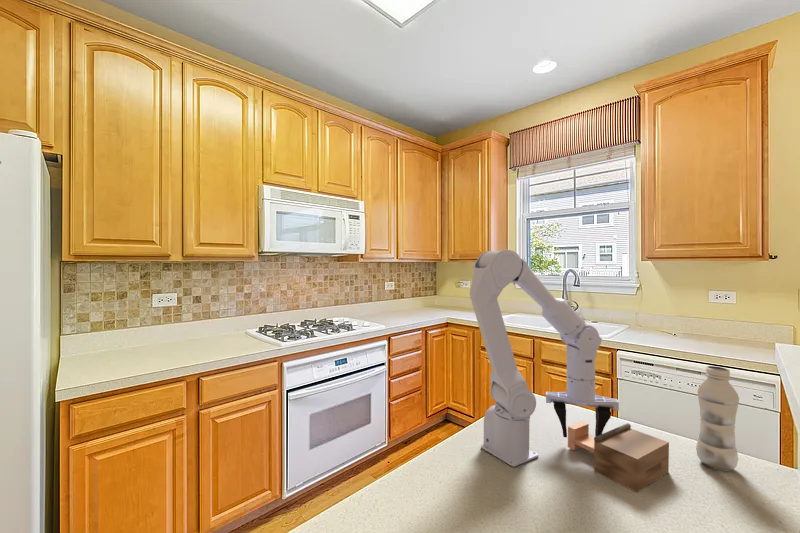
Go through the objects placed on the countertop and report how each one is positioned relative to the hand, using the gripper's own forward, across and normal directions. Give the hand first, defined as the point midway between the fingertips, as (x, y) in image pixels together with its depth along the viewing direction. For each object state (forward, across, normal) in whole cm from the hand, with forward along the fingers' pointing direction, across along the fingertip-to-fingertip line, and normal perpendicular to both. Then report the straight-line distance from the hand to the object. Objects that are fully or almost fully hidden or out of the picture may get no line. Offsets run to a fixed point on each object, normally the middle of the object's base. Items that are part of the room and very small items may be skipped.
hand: (581, 437), depth 83 cm
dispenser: (+2, +8, -7) cm, 11 cm away
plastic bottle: (+3, +25, +1) cm, 25 cm away
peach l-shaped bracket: (+2, +4, -4) cm, 6 cm away
